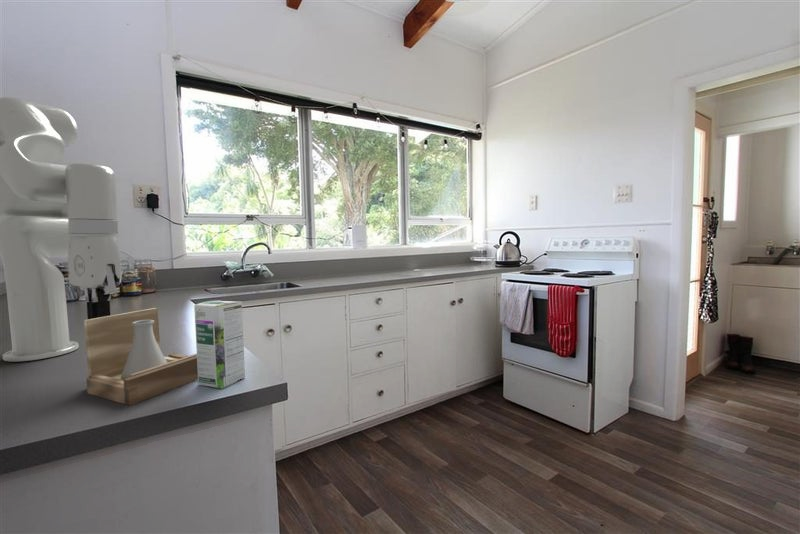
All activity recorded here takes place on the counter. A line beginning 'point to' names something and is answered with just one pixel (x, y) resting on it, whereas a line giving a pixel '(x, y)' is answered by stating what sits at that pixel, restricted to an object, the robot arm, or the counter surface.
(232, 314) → the syrup box
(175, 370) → the bay
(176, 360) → the wooden tablet stand
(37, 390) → the counter surface
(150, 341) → the flask
